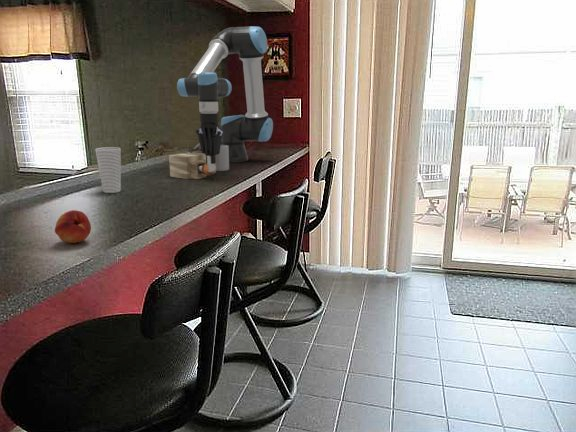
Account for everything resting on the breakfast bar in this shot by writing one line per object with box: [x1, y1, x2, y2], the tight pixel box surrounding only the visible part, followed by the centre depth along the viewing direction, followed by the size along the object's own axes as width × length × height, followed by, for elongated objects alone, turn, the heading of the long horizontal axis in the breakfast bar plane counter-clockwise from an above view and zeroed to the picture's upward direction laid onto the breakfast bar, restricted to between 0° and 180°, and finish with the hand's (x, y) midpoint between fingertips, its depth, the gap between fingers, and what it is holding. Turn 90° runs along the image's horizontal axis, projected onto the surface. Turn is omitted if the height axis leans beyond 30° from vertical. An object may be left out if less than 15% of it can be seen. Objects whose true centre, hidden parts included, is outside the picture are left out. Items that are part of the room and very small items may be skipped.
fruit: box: [54, 209, 92, 244], centre depth 111 cm, size 8×8×8 cm
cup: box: [94, 146, 122, 194], centre depth 167 cm, size 8×8×16 cm
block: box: [168, 148, 217, 180], centre depth 200 cm, size 18×14×11 cm
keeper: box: [191, 142, 201, 152], centre depth 204 cm, size 5×11×2 cm
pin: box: [198, 163, 214, 176], centre depth 196 cm, size 5×17×5 cm, turn 57°
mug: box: [216, 144, 230, 172], centre depth 215 cm, size 12×8×11 cm
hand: (211, 171), depth 192 cm, fingers closed
